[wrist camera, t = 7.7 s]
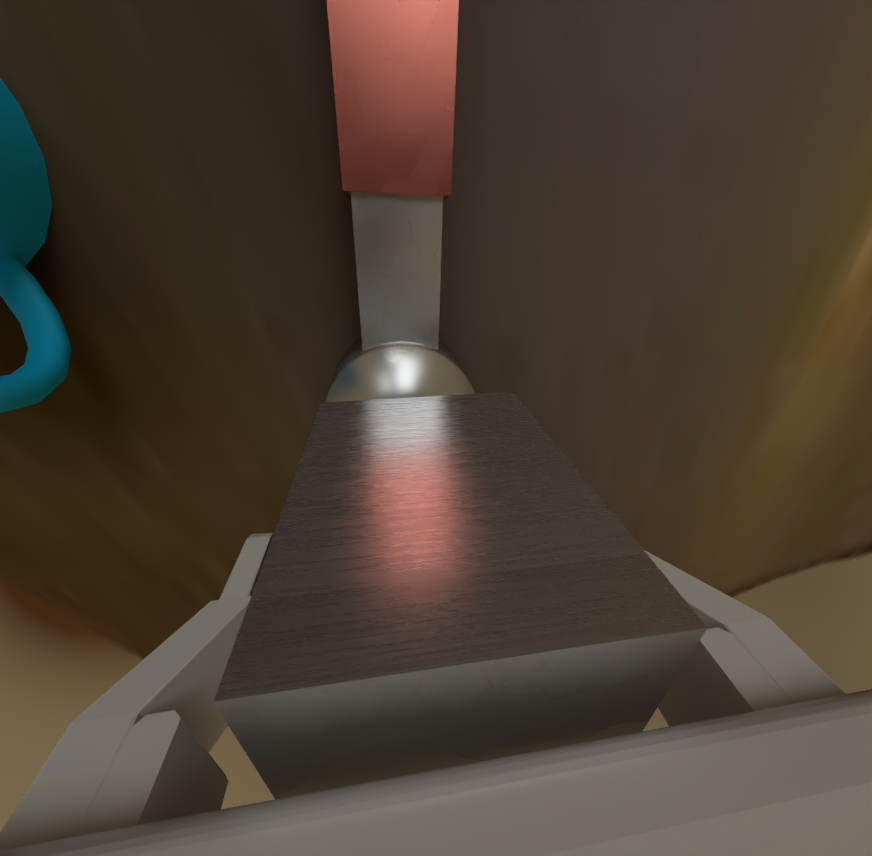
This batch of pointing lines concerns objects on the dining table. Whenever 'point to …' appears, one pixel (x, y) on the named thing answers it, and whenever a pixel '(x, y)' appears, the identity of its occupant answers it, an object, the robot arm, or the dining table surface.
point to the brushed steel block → (444, 602)
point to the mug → (27, 261)
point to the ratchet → (396, 189)
